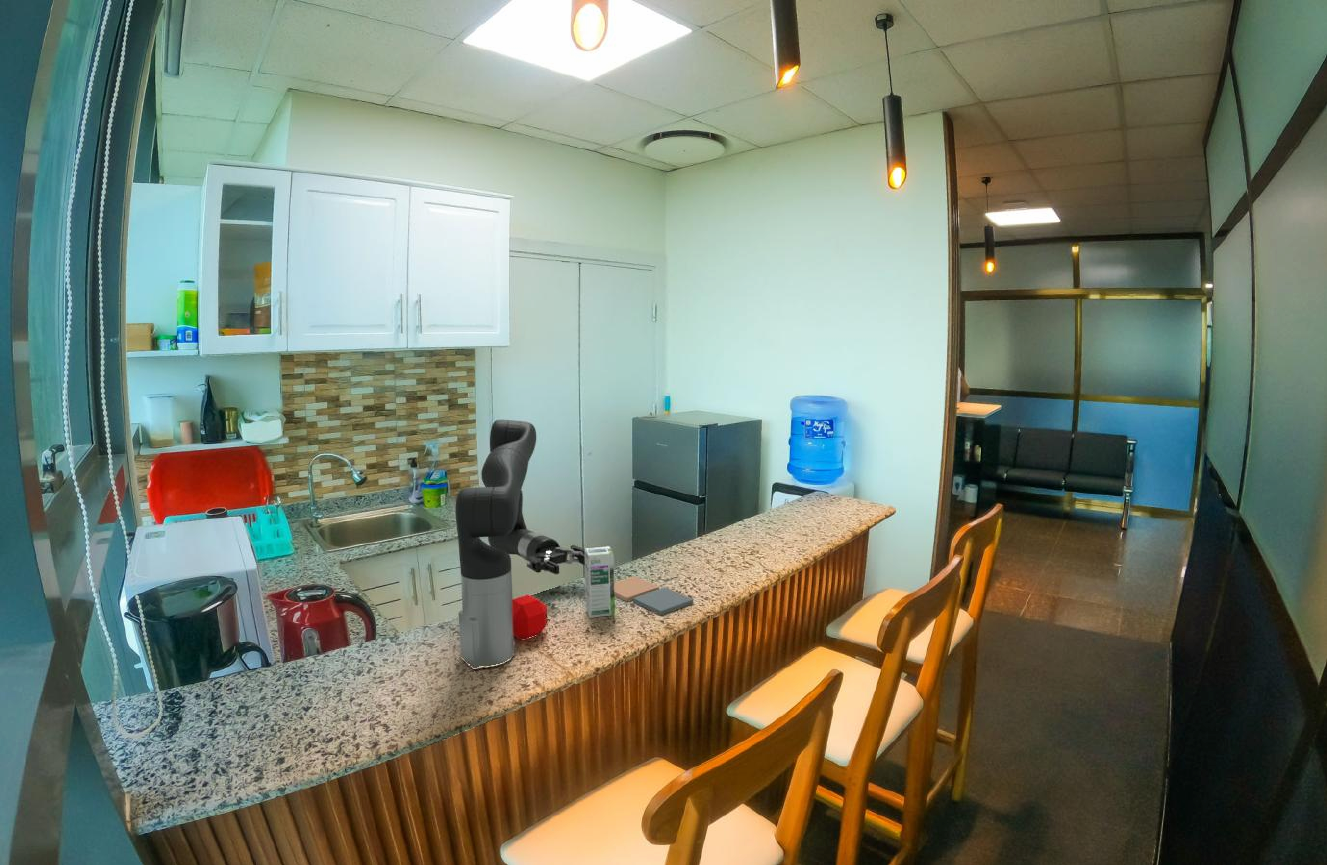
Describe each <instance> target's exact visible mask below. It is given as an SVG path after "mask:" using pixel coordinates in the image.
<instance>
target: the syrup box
mask: <svg viewBox="0 0 1327 865" xmlns="http://www.w3.org/2000/svg"><path fill="white" fill-rule="evenodd" d="M584 549H585V550H584V554H585V565H584V574H585V575H584V578H585V579H584V580H585V610H586V611H587V614H588V617H589V618H590V619H594V618H602V617H609V616H611V617H612V616H615V614H616V604H615V600H616V598H615V597H616V596H614V582H615V560H614V558H615V555H614V552H613V550H612V548H611V547H610V546H609V545H608V546H601V547H590V548H588V547H586V548H584Z"/></svg>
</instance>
